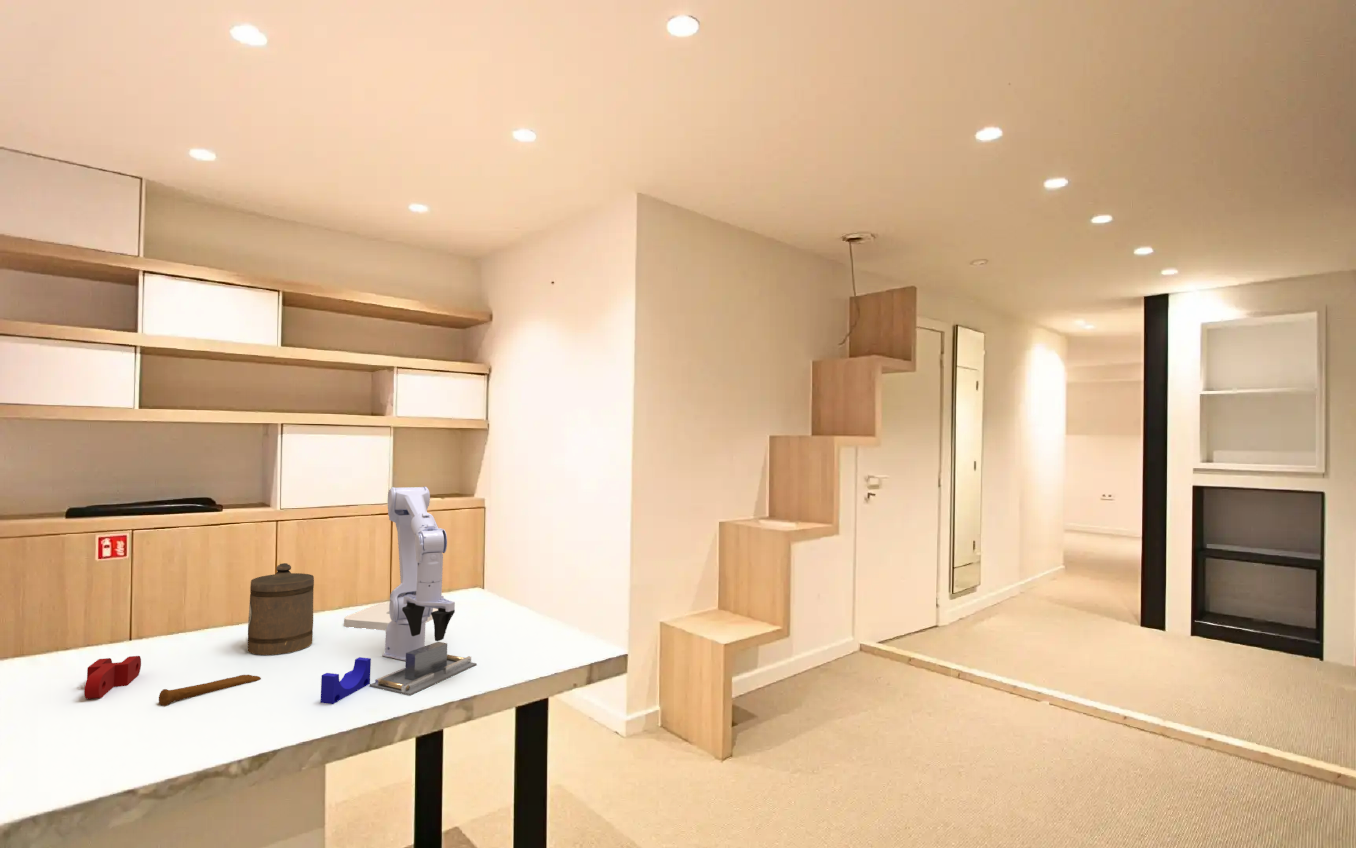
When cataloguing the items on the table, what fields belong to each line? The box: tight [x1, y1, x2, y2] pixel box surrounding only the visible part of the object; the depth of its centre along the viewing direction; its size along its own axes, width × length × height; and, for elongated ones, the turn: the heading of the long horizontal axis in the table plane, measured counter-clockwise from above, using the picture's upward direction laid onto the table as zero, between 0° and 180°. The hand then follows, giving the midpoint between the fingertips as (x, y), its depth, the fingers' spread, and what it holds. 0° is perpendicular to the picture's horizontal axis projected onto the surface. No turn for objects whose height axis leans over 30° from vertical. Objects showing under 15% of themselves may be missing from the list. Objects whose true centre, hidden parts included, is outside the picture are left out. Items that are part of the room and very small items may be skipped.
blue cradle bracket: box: [320, 656, 372, 705], centre depth 145 cm, size 12×4×6 cm, turn 169°
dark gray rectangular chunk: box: [404, 641, 448, 681], centre depth 157 cm, size 3×10×6 cm, turn 154°
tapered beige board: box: [343, 601, 438, 631], centre depth 203 cm, size 22×22×3 cm
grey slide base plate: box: [369, 660, 477, 696], centre depth 156 cm, size 12×22×1 cm, turn 158°
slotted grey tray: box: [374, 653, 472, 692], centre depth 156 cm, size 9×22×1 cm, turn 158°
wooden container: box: [247, 563, 315, 656], centre depth 174 cm, size 15×15×22 cm
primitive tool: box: [158, 674, 262, 707], centre depth 144 cm, size 19×6×4 cm, turn 155°
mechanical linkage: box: [83, 655, 142, 700], centre depth 144 cm, size 16×7×5 cm, turn 23°
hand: (427, 637), depth 157 cm, fingers open, 7 cm apart
